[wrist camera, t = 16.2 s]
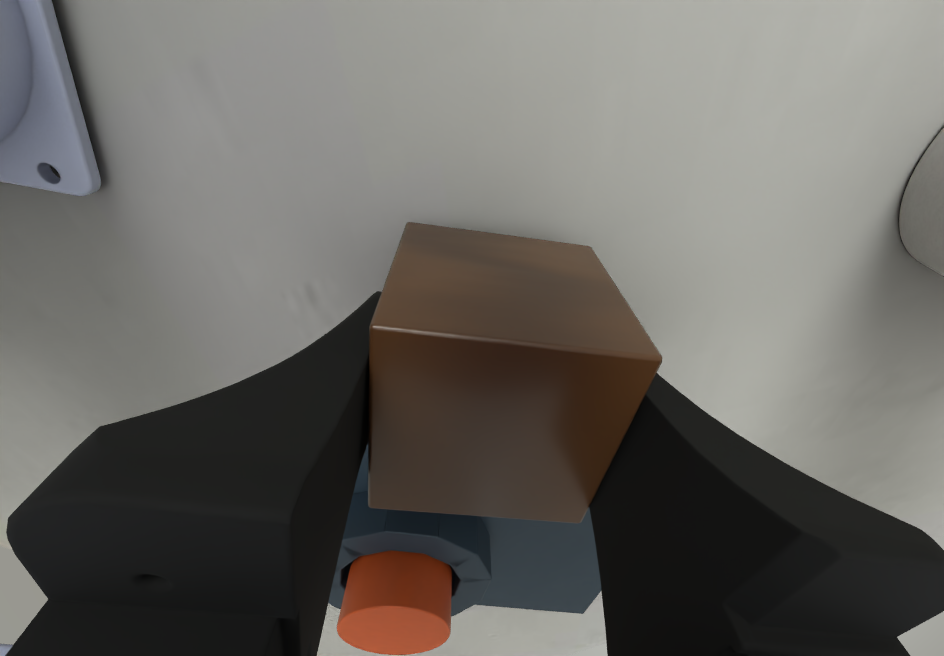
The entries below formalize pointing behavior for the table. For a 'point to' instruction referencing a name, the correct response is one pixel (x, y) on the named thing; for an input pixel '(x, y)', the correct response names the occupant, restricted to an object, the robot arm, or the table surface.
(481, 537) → the grey base slab
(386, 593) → the lid button
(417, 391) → the walnut block
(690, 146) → the table surface
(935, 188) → the coffee cup
